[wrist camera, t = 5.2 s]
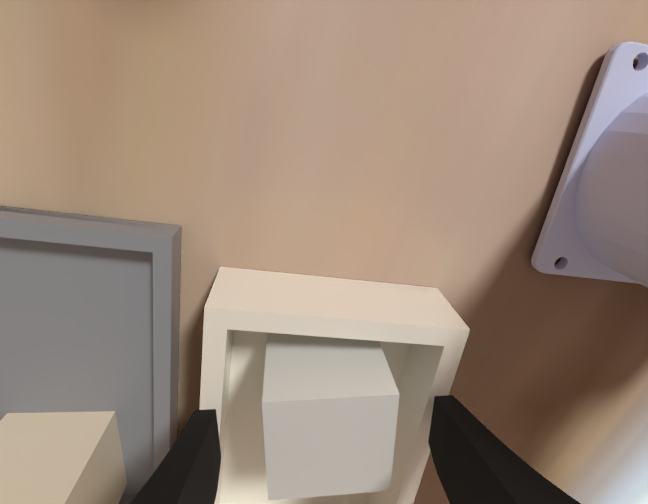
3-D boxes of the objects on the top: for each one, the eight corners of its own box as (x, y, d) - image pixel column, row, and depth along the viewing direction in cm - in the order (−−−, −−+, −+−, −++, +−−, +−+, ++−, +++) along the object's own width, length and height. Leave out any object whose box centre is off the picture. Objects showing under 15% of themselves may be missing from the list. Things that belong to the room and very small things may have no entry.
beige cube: (115, 411, 16) (61, 508, 12) (127, 483, 17) (82, 590, 13) (7, 412, 15) (-85, 515, 11) (28, 486, 17) (-46, 598, 13)
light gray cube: (371, 321, 15) (399, 394, 11) (366, 403, 17) (390, 490, 13) (267, 326, 15) (261, 402, 11) (272, 408, 16) (268, 500, 13)
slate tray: (181, 225, 14) (172, 237, 12) (175, 493, 18) (168, 519, 17) (-84, 196, 12) (-121, 205, 11) (-19, 489, 17) (-40, 517, 16)
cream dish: (436, 287, 15) (470, 329, 13) (375, 506, 20) (390, 572, 17) (220, 266, 14) (204, 307, 11) (205, 503, 19) (191, 574, 16)
